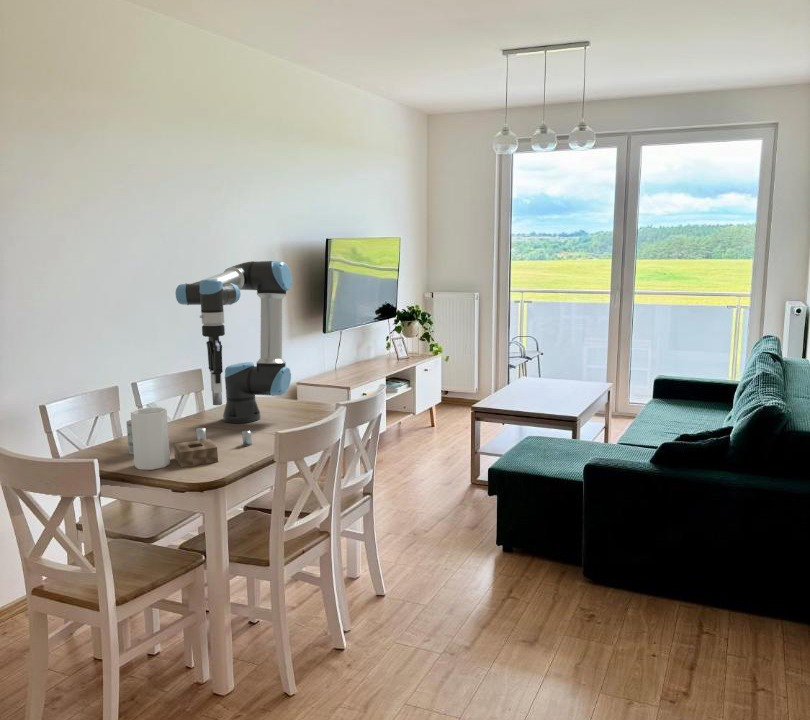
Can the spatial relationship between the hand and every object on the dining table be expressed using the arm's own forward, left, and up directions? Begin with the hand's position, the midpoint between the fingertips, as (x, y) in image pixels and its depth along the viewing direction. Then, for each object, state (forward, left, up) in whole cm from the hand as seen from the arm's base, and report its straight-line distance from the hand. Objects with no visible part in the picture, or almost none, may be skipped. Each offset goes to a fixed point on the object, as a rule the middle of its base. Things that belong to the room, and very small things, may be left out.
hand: (216, 391), depth 261 cm
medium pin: (+6, -2, -21) cm, 22 cm away
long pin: (0, 0, -5) cm, 5 cm away
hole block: (+10, +8, -21) cm, 25 cm away
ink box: (+25, -10, -21) cm, 34 cm away
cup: (+24, +7, -21) cm, 33 cm away
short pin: (-10, -2, -21) cm, 24 cm away
